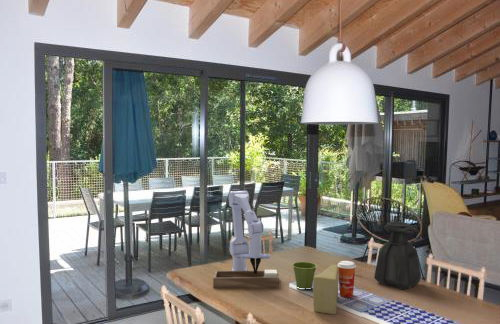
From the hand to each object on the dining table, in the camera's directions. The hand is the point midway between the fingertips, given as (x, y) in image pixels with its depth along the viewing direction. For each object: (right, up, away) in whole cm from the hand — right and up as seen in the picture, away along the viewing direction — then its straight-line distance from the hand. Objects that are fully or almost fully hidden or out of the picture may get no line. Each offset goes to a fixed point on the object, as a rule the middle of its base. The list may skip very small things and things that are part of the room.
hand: (255, 273), depth 212 cm
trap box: (-4, -5, 0) cm, 7 cm away
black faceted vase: (+71, -5, -1) cm, 71 cm away
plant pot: (+24, -6, -7) cm, 25 cm away
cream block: (+8, -3, 0) cm, 8 cm away
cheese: (+32, -7, -27) cm, 43 cm away
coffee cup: (+42, -6, -17) cm, 45 cm away
